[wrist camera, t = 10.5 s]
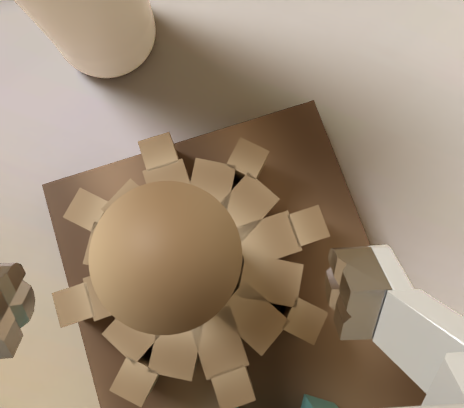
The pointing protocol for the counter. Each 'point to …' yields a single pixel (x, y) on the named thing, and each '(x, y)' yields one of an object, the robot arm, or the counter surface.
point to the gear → (315, 402)
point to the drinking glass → (97, 32)
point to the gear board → (311, 288)
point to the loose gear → (192, 270)
